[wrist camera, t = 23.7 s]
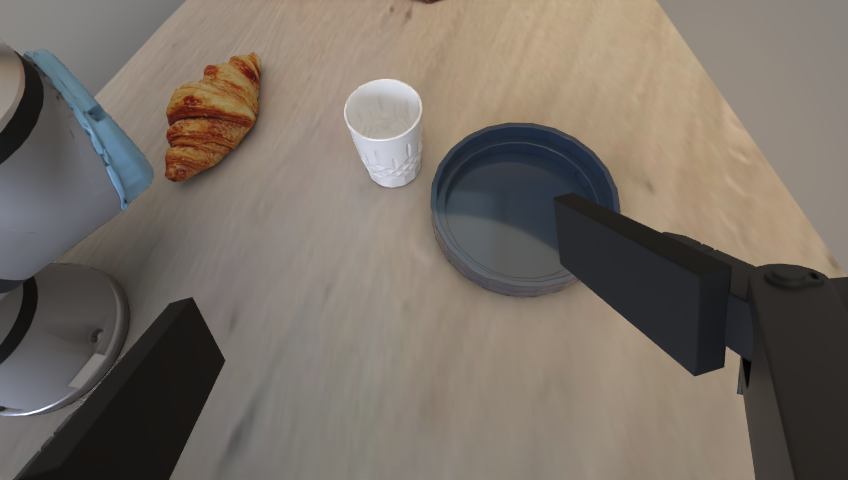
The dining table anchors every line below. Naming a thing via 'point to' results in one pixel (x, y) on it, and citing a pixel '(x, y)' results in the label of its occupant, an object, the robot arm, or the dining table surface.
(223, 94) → the croissant
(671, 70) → the dining table surface
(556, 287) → the plate
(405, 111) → the white cup
